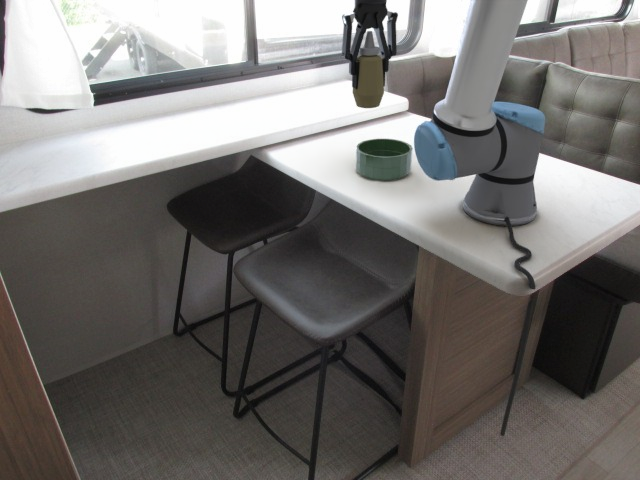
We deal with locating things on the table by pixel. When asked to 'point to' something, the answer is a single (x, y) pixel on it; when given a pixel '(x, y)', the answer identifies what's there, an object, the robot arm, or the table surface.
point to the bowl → (383, 159)
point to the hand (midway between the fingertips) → (368, 86)
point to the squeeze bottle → (369, 75)
